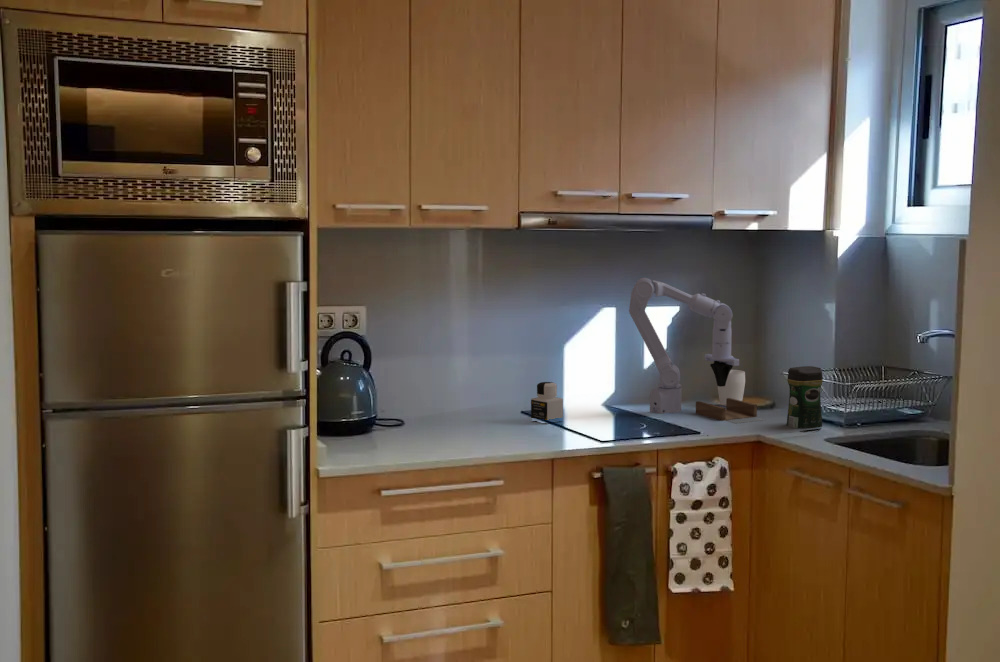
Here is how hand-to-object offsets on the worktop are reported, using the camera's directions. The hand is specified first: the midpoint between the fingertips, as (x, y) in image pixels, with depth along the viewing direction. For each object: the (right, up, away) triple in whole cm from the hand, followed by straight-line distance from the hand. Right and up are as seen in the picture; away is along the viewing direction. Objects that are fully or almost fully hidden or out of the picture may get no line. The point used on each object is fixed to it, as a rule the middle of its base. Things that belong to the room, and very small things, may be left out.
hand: (721, 386), depth 306 cm
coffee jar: (+19, -12, -21) cm, 31 cm away
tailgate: (+3, -9, -11) cm, 14 cm away
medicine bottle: (-55, -11, -5) cm, 56 cm away
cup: (+6, -8, +14) cm, 17 cm away
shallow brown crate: (0, -10, -4) cm, 11 cm away
